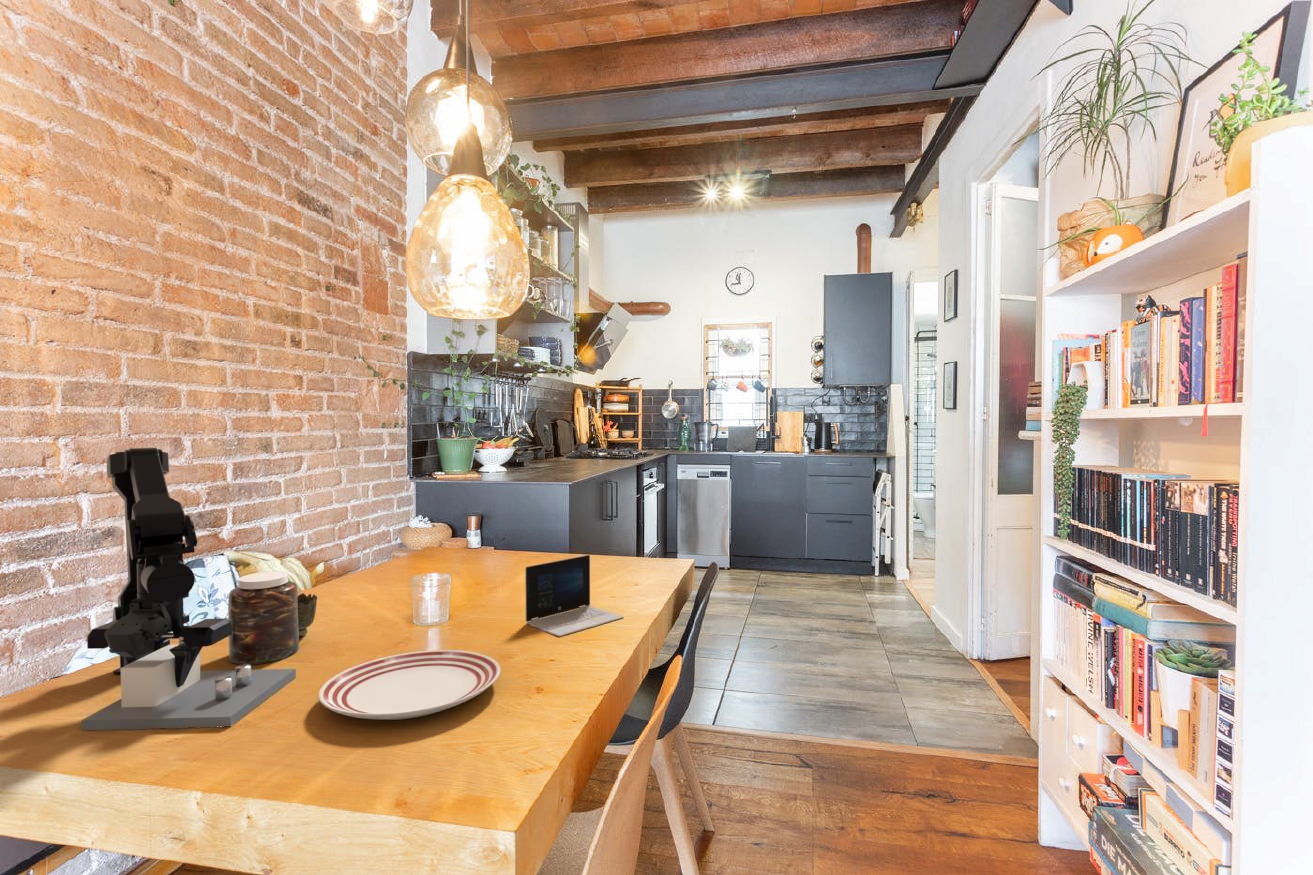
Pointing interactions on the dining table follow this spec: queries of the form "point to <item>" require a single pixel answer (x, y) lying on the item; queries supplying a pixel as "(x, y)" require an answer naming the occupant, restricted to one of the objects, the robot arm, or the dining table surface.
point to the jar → (263, 618)
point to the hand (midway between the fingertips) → (162, 686)
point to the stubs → (225, 683)
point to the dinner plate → (409, 684)
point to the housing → (153, 679)
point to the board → (195, 704)
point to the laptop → (562, 597)
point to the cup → (306, 612)
